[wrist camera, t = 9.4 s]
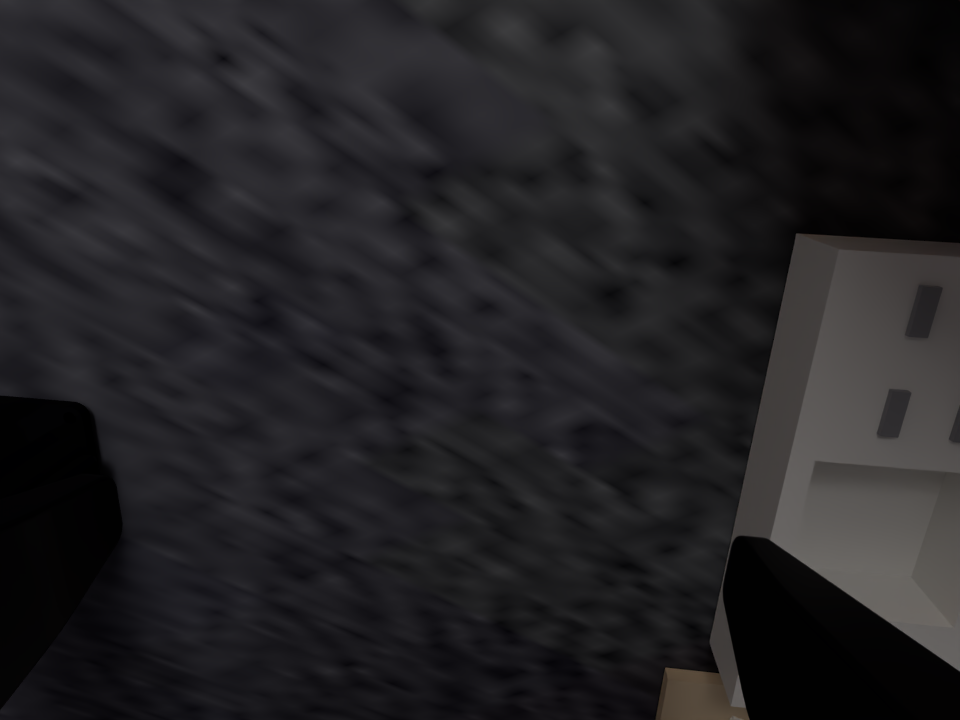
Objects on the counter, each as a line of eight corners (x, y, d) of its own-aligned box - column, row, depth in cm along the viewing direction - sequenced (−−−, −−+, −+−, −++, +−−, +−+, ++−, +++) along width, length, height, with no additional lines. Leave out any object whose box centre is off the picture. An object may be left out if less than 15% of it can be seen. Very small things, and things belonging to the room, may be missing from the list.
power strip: (709, 642, 25) (734, 718, 22) (796, 233, 20) (847, 252, 16) (893, 661, 25) (948, 742, 21) (1034, 247, 19) (1136, 270, 16)
